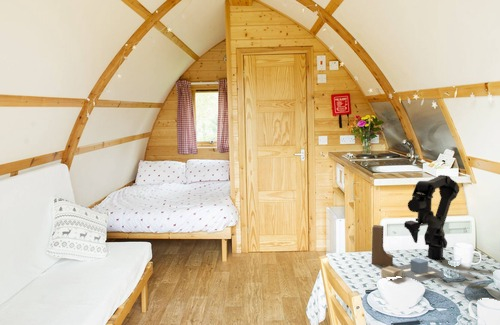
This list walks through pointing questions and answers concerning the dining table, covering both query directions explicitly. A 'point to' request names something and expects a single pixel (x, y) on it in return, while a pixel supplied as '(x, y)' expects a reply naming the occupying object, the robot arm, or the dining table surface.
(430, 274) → the letter board
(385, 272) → the birch block
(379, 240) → the wooden block
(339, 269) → the dining table surface
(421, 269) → the blue cube
